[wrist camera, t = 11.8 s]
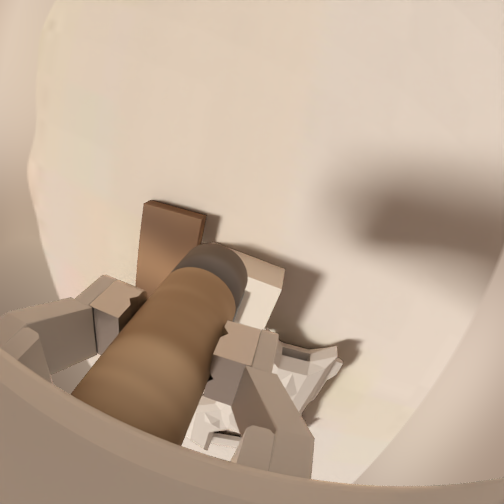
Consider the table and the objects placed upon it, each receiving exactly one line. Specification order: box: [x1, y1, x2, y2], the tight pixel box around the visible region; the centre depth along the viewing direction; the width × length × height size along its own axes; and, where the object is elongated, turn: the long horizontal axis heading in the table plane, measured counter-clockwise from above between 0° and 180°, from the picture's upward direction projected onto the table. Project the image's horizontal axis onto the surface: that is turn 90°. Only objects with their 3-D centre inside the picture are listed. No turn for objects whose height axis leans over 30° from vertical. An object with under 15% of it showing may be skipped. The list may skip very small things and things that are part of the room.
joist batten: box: [136, 200, 207, 299], centre depth 22 cm, size 14×4×1 cm, turn 166°
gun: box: [186, 328, 343, 450], centre depth 24 cm, size 18×4×10 cm
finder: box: [212, 242, 285, 330], centre depth 20 cm, size 5×5×3 cm
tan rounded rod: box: [71, 243, 248, 446], centre depth 8 cm, size 3×3×9 cm
